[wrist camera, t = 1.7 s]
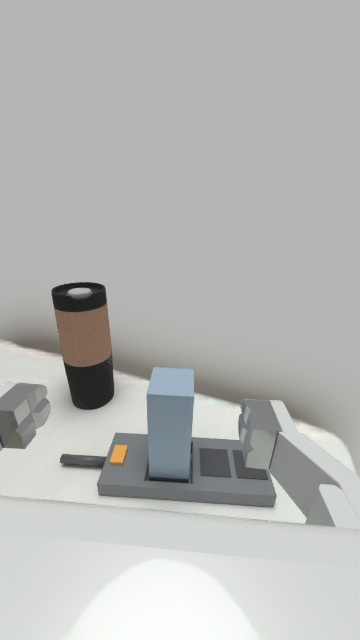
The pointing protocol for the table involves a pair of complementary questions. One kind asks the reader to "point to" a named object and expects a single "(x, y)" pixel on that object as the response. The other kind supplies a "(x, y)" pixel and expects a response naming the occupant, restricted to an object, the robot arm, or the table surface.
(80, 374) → the travel mug
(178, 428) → the blue rectangular block
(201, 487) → the power strip
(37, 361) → the table surface
